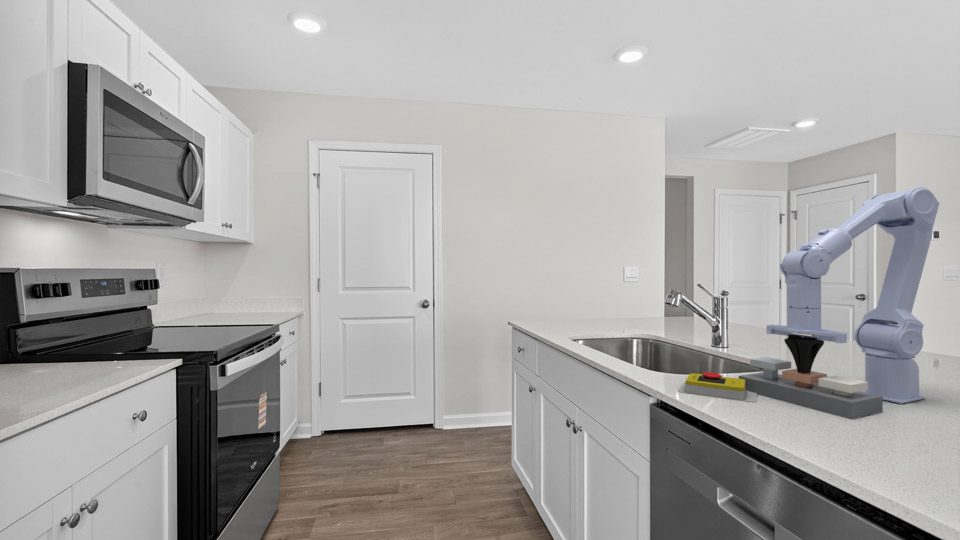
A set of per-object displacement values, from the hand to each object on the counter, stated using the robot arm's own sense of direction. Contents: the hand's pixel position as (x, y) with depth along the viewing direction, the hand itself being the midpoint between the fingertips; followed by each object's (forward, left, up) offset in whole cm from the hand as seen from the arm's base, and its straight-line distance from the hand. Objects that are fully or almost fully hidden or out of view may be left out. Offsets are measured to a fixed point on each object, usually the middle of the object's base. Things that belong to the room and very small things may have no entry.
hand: (804, 372), depth 91 cm
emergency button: (+12, -11, -6) cm, 17 cm away
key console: (0, 0, -6) cm, 6 cm away
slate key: (0, -7, -3) cm, 8 cm away
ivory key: (0, +7, -4) cm, 8 cm away
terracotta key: (0, 0, -4) cm, 4 cm away
